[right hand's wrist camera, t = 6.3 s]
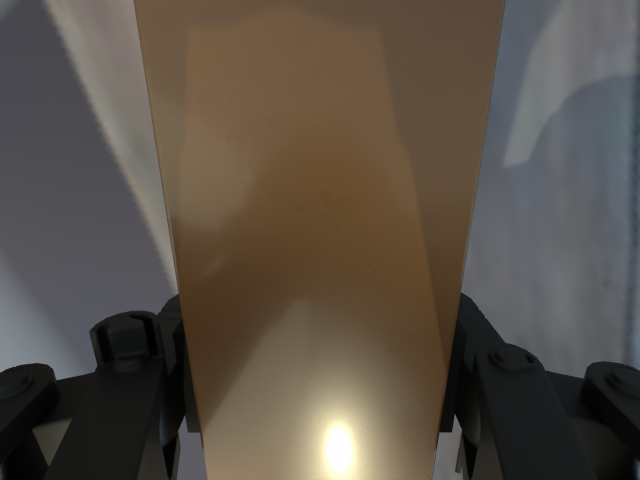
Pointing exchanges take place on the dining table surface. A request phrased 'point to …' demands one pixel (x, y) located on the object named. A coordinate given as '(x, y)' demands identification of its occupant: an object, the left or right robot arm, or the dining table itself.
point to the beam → (319, 220)
